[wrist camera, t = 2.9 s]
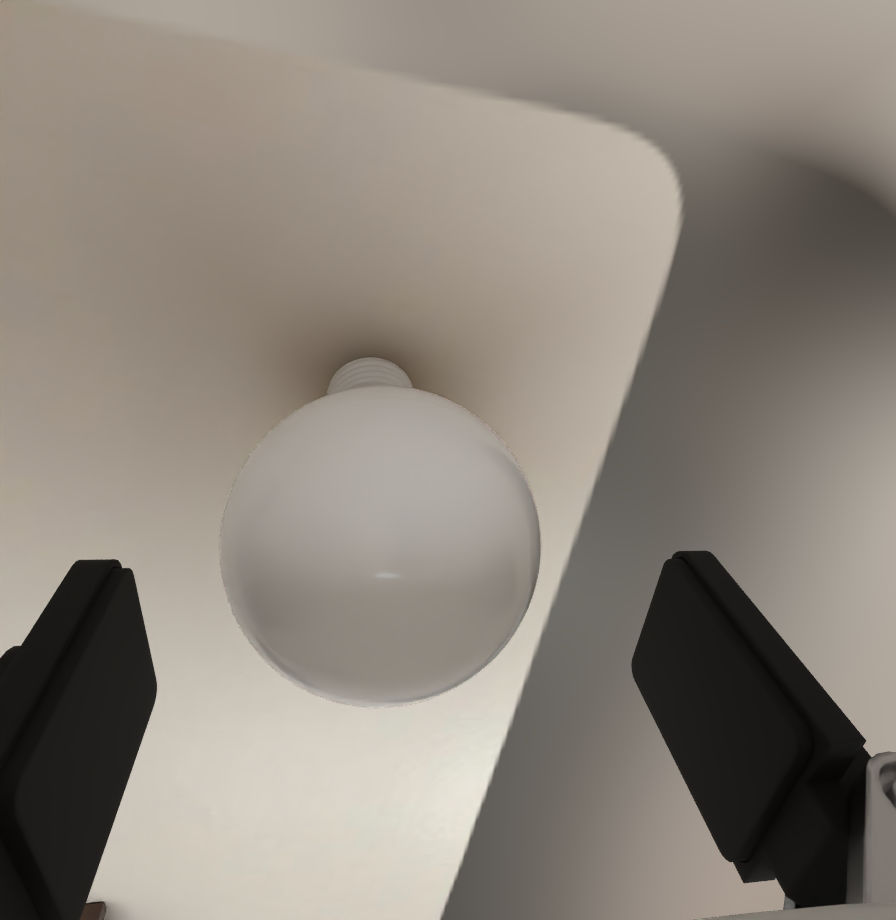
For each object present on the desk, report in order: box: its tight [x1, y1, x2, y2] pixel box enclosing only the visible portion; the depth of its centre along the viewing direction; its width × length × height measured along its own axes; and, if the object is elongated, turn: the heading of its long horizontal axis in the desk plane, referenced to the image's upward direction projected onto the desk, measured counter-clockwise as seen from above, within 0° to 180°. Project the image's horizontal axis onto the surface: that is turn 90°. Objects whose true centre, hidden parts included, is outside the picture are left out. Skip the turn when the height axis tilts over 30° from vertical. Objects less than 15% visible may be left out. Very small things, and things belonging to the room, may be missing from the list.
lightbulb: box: [219, 357, 541, 708], centre depth 14 cm, size 6×6×11 cm
